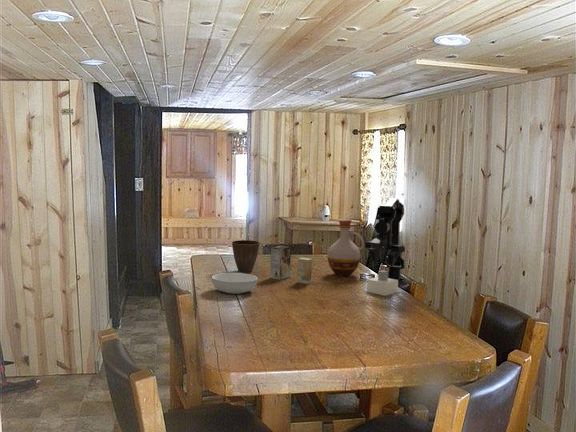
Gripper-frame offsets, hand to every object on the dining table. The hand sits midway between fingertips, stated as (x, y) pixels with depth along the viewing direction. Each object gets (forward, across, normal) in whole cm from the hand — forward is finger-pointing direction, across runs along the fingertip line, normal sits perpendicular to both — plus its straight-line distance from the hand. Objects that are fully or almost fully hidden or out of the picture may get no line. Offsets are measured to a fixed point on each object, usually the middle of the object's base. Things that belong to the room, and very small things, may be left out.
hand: (383, 265), depth 252 cm
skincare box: (+13, -37, -14) cm, 42 cm away
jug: (+13, -36, +17) cm, 42 cm away
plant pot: (+13, -76, -19) cm, 79 cm away
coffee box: (+13, -53, -15) cm, 57 cm away
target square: (+13, 0, 0) cm, 13 cm away
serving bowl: (+13, -44, -53) cm, 70 cm away
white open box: (+13, 0, 0) cm, 13 cm away
